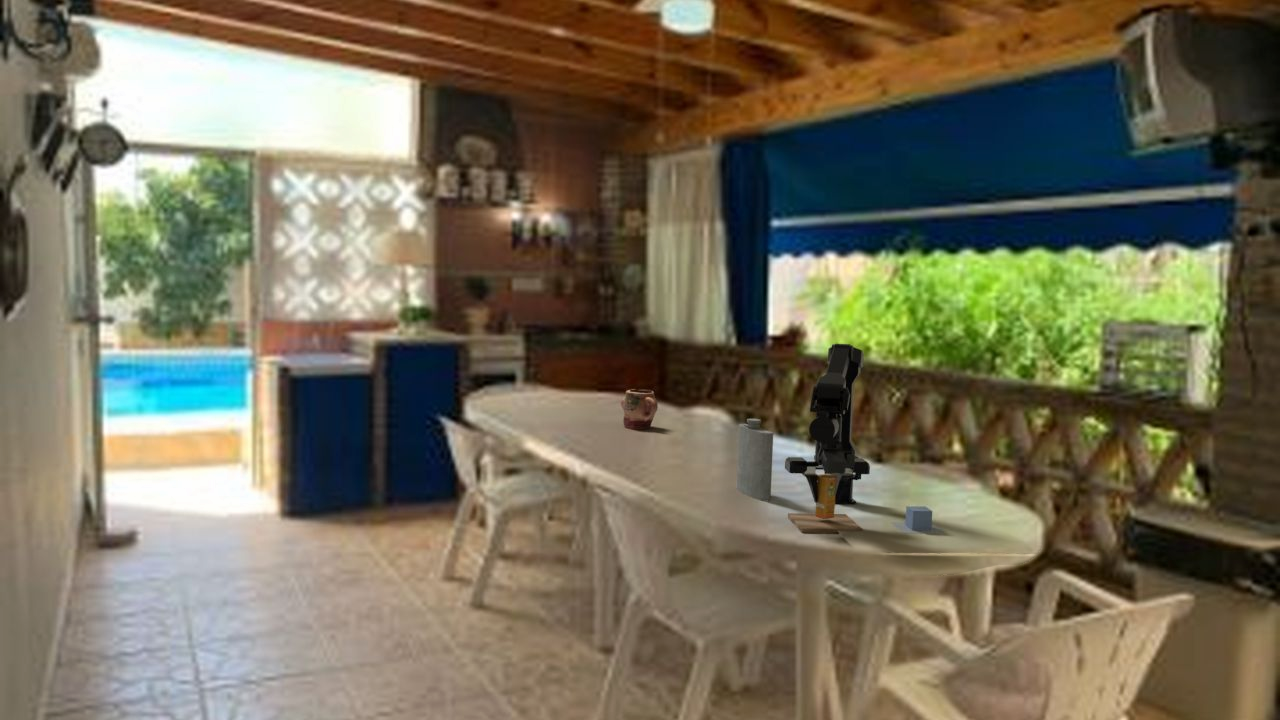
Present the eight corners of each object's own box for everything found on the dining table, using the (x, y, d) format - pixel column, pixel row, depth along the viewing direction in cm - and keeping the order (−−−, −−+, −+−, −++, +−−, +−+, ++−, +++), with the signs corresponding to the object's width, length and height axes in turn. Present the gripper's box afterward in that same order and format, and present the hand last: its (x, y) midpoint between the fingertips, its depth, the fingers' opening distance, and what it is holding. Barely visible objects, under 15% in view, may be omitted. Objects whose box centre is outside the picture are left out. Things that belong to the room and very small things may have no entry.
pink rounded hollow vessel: (669, 430, 367) (671, 393, 365) (642, 433, 359) (643, 394, 358) (637, 423, 383) (638, 386, 381) (610, 425, 375) (611, 388, 374)
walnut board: (787, 517, 241) (788, 513, 241) (845, 518, 242) (845, 513, 242) (801, 532, 227) (801, 528, 227) (862, 533, 228) (862, 528, 228)
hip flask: (772, 500, 259) (776, 423, 257) (758, 501, 257) (761, 423, 256) (745, 487, 274) (748, 414, 272) (731, 488, 272) (734, 414, 270)
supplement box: (825, 519, 232) (826, 477, 231) (814, 516, 235) (815, 474, 234) (835, 517, 234) (836, 475, 233) (825, 514, 237) (826, 472, 236)
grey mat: (889, 524, 237) (890, 522, 237) (931, 525, 238) (931, 522, 238) (904, 535, 227) (904, 533, 227) (947, 536, 228) (947, 533, 228)
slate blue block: (905, 525, 234) (906, 506, 234) (924, 525, 235) (925, 506, 234) (912, 530, 230) (913, 510, 229) (931, 530, 230) (932, 511, 230)
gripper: (796, 441, 224) (793, 510, 225) (878, 442, 226) (875, 511, 227) (785, 433, 235) (782, 498, 237) (864, 434, 237) (860, 499, 238)
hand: (825, 502), depth 234 cm, fingers closed on supplement box, 4 cm apart
